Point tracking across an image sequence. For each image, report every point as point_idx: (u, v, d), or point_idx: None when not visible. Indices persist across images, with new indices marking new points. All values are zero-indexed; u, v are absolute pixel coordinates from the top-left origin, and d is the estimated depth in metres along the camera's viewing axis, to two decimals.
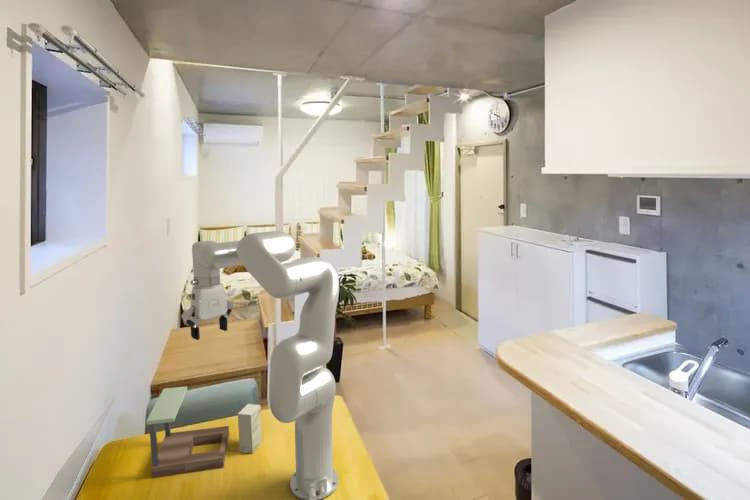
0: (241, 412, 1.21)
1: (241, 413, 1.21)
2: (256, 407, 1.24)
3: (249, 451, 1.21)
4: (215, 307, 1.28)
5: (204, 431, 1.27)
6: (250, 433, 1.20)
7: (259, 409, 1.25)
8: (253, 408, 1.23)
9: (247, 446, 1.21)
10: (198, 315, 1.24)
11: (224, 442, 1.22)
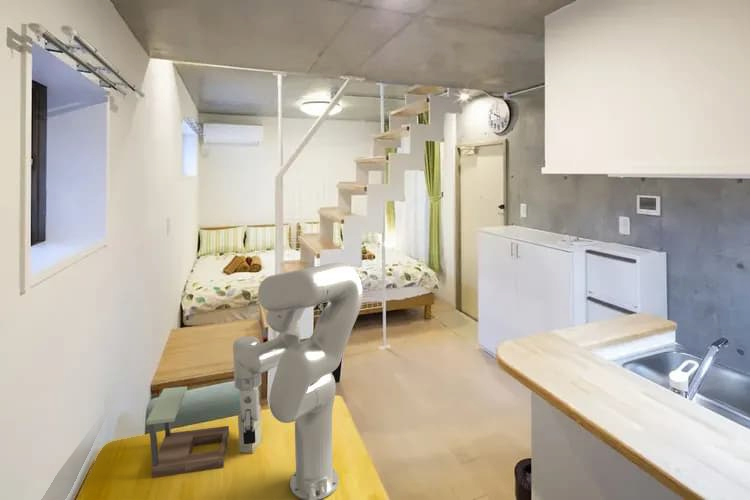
0: None
1: None
2: None
3: (249, 451, 1.21)
4: None
5: (204, 431, 1.27)
6: None
7: (259, 409, 1.25)
8: None
9: (247, 446, 1.21)
10: (256, 416, 1.19)
11: (224, 442, 1.22)
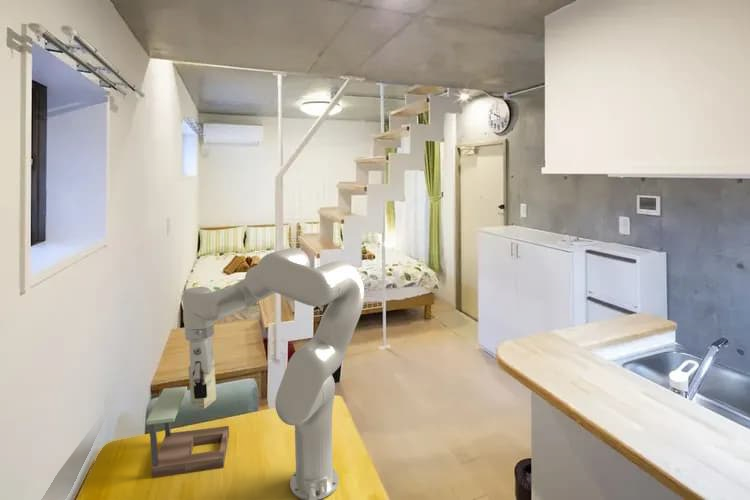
0: None
1: None
2: None
3: (201, 406, 1.16)
4: (211, 356, 1.19)
5: (204, 431, 1.27)
6: None
7: (213, 364, 1.20)
8: None
9: (199, 401, 1.16)
10: (207, 369, 1.13)
11: (224, 442, 1.22)
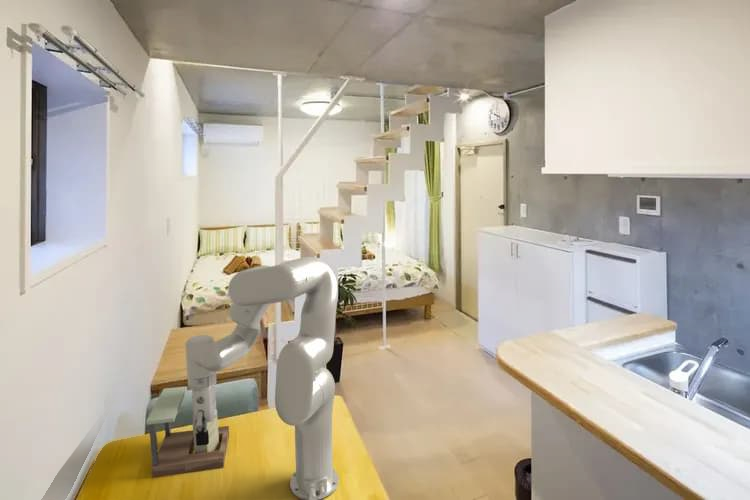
0: None
1: None
2: None
3: None
4: (214, 403, 1.21)
5: None
6: None
7: (216, 414, 1.22)
8: None
9: (202, 452, 1.18)
10: (210, 417, 1.15)
11: (224, 442, 1.22)
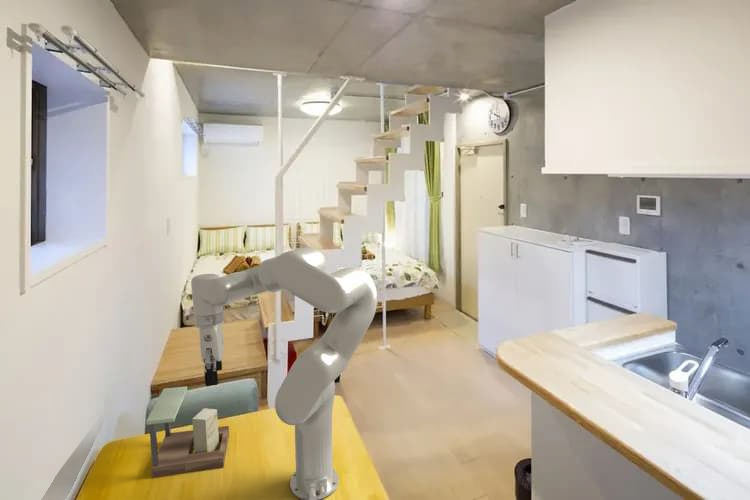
0: (196, 417, 1.18)
1: (196, 418, 1.18)
2: (212, 412, 1.21)
3: None
4: (222, 344, 1.17)
5: None
6: (205, 438, 1.18)
7: (216, 414, 1.22)
8: (209, 412, 1.21)
9: (202, 452, 1.18)
10: (218, 356, 1.12)
11: (224, 442, 1.22)
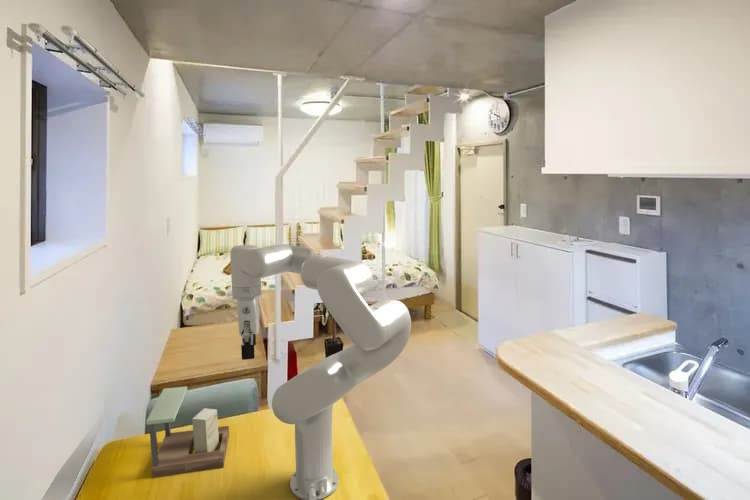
0: (196, 417, 1.18)
1: (196, 418, 1.18)
2: (212, 412, 1.21)
3: None
4: (258, 318, 1.14)
5: None
6: (205, 438, 1.18)
7: (216, 414, 1.22)
8: (209, 412, 1.21)
9: (202, 452, 1.18)
10: (256, 329, 1.09)
11: (224, 442, 1.22)
